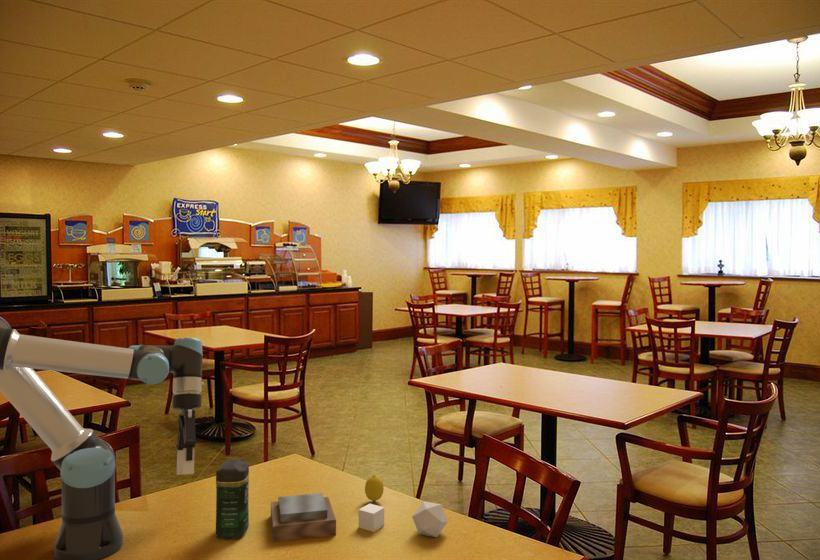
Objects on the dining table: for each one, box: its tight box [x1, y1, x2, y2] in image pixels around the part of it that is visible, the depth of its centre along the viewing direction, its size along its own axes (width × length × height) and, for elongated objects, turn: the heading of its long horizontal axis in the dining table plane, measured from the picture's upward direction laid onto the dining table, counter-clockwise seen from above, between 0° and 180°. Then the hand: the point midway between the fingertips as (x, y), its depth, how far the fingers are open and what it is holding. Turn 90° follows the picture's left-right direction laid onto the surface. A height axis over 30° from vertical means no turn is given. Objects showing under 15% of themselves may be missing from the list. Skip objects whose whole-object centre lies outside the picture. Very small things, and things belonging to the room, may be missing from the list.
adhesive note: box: [358, 503, 385, 533], centre depth 167 cm, size 5×5×5 cm
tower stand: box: [270, 492, 337, 543], centre depth 167 cm, size 16×16×6 cm
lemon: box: [364, 474, 385, 503], centre depth 183 cm, size 6×6×8 cm
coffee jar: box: [215, 458, 250, 540], centre depth 162 cm, size 10×8×19 cm
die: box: [411, 500, 449, 538], centre depth 163 cm, size 8×9×10 cm
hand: (184, 474), depth 165 cm, fingers open, 13 cm apart
